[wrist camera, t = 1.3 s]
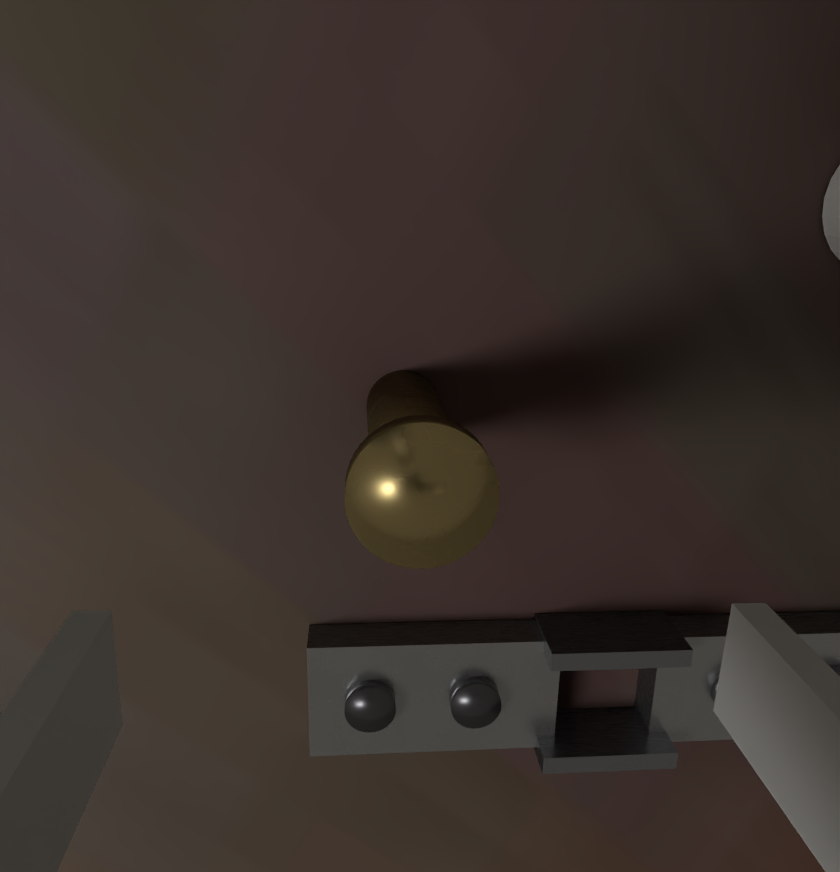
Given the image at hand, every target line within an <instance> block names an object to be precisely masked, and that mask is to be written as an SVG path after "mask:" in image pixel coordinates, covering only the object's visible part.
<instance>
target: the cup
mask: <svg viewBox="0 0 840 872" xmlns="http://www.w3.org/2000/svg"><path fill="white" fill-rule="evenodd" d="M822 220H823V228H824V235H825V237H826V239H827V242H828V244H829V246H830V249H831V251H832V252H833V253H834V254H835V255H836V257H837V258H838V259H839V260H840V165H839V167H838V168H837V170H836V171H835V173H834V175H833V176H832V178H831V180H830V183H829V186H828V188H827V191H826V194H825V197H824V204H823V212H822Z"/></svg>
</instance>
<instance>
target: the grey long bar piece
mask: <svg viewBox="0 0 840 872" xmlns="http://www.w3.org/2000/svg"><path fill="white" fill-rule="evenodd" d="M776 614H777V615H778V616H779V617H780V618H781V619H782V620H783V621H784V622H785V623H786V624H787V625H788V626H789V627H790V628H791V629H792V630H793V631H794V632H795V633H796V634H797V635H798V636H799V637H800V638H801V639H802V640H803V641H804V642H805V643H806V644H807V645H808V646H809V647H810V648H811V649H812V650H813V651H815V652H816V653H817V654H818V655H819V656H820V657H821V658H822V659H823V660H824V661H825V662H826V663H827V664H828V665H829V666H830V667H831V668H832V669H833V670H834V671H835V672H836V673H837V674H838V675H839V676H840V611H828V612H790V613H776ZM729 618H730V614H713V615H675V616H668V615H667V614H666V613H665V611H626V612H587V613H548V614H535V618H534V619H522V620H483V621H445V622H407V623H368V624H330V625H309V633H308V642H307V672H308V705H309V739H310V756H329V755H354V754H379V753H404V752H429V751H454V750H479V749H504V748H529V747H534V750H535V753H536V756H537V759H538V762H539V765H540V768H541V771H542V774H556V773H580V772H603V771H626V770H649V769H672V768H676V766H677V759H678V751H677V750H676V748H675V746H674V745H673V743H672V742H679V741H704V740H729V739H733V738H732V737H731V735H730V734H729V733H728V731H727V730H726V728H725V727H724V725H723V724H722V723H721V721H720V720H719V718H718V717H717V715H716V714H715V712H714V711H713V709H714V703H715V697H716V692H717V686H718V680H719V675H720V669H721V663H722V658H723V652H724V646H725V640H726V635H727V629H728V623H729ZM610 669H639V676H638V684H637V693H636V701H635V707H625V708H597V709H569V710H557V700H558V689H559V677H560V671H579V670H610Z"/></svg>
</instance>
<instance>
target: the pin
mask: <svg viewBox="0 0 840 872" xmlns="http://www.w3.org/2000/svg"><path fill="white" fill-rule="evenodd" d="M367 426H368V436H367V437H366V438H365V439H364V441H363V442H362V443H361V444H360V445H359V447H358V448H357V450H356V451H355V453H354V455H353V457H352V458H351V460H350V463H349V466H348V469H347V474H346V480H345V510H346V514H347V518H348V521H349V524H350V526H351V528H352V530H353V532H354V534H355V535H356V537H357V538H358V539H359V541H360V542H361V543H362V544H363V545H364V546H365V547H366V548H367V549H368V550H369V551H370V552H371V553H373V554H374V555H375V556H377V557H379V558H380V559H382V560H384V561H386V562H389V563H391V564H394V565H397V566H401V567H406V568H415V569H424V568H433V567H438V566H442V565H445V564H448V563H451V562H453V561H455V560H458V559H460V558H461V557H463V556H464V555H466V554H468V553H469V552H470V551H471V550H473V549H474V548H475V547H476V546H477V545H478V544H479V543H480V542H481V541H482V540H483V538H484V537H485V536H486V535H487V533H488V532H489V530H490V528H491V526H492V525H493V522H494V520H495V517H496V514H497V510H498V506H499V498H500V493H499V482H498V477H497V474H496V471H495V468H494V466H493V464H492V462H491V460H490V458H489V456H488V454H487V452H486V450H485V449H484V447H483V446H482V444H481V443H480V442H479V441H478V439H477V438H476V437H475V436H474V435H473V434H472V433H471V432H469V431H468V430H467V429H465V428H464V427H462V426H461V425H459V424H457V423H455V422H453V421H451V420H448V419H446V417H445V414H444V412H443V409H442V407H441V404H440V402H439V399H438V397H437V394H436V392H435V390H434V388H433V386H432V385H431V384H430V383H429V381H428V380H426V379H425V378H424V377H422V376H421V375H419V374H417V373H414V372H410V371H396V372H392V373H389V374H387V375H385V376H383V377H382V378H380V379H379V380H378V381H377V382H376V383H375V384H374V385H373V387H372V388H371V390H370V392H369V395H368V398H367Z"/></svg>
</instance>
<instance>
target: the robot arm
mask: <svg viewBox="0 0 840 872" xmlns="http://www.w3.org/2000/svg"><path fill="white" fill-rule="evenodd" d="M713 711H714V712H715V714H716V715H717V717H718V718H719V720H720V721H721V723H722V724H723V725H724V727H725V728H726V730H727V731H728V733H729V734H730V735H731V737H732V738H733V740H734V741H735V743H736V744H737V745H738V747H739V748H740V750H741V751H742V753H743V754H744V756H745V757H746V758H747V760H748V761H749V763H750V764H751V766H752V767H753V768H754V770H755V771H756V773H757V774H758V776H759V777H760V779H761V780H762V781H763V783H764V784H765V786H766V787H767V789H768V790H769V791H770V793H771V794H772V796H773V797H774V799H775V800H776V801H777V803H778V804H779V806H780V807H781V809H782V810H783V812H784V813H785V814H786V816H787V817H788V819H789V820H790V822H791V823H792V824H793V826H794V827H795V829H796V830H797V832H798V833H799V835H800V836H801V837H802V839H803V840H804V842H805V843H806V845H807V846H808V847H809V849H810V850H811V852H812V853H813V855H814V856H815V857H816V859H817V860H818V862H819V863H820V865H821V866H822V868H823V869H824V870H825V872H840V676H839V675H838V674H837V673H836V672H835V671H834V670H833V669H832V668H831V667H830V666H829V665H828V664H827V663H826V662H825V661H824V660H823V659H822V658H821V657H820V656H819V655H818V654H817V653H816V652H815V651H813V650H812V649H811V648H810V647H809V646H808V645H807V644H806V643H805V642H804V641H803V640H802V639H801V638H800V637H799V636H798V635H797V634H796V633H795V632H794V631H793V630H792V629H791V628H790V627H789V626H788V625H787V624H786V623H785V622H784V621H783V620H782V619H781V618H780V617H779V616H778V615H777V614H776V613H775V612H774V611H773V610H772V609H771V608H770V607H769V606H768V605H767V604H766V603H734V604H732V606H731V612H730V618H729V623H728V629H727V635H726V640H725V646H724V652H723V658H722V663H721V669H720V675H719V680H718V686H717V692H716V697H715V703H714V709H713ZM122 725H123V724H122V714H121V704H120V694H119V684H118V674H117V664H116V654H115V644H114V634H113V624H112V613H111V610H104V611H72V612H71V613H70V615H69V616H68V618H67V619H66V620H65V622H64V623H63V625H62V626H61V628H60V629H59V631H58V632H57V633H56V635H55V636H54V638H53V639H52V641H51V642H50V644H49V645H48V646H47V648H46V649H45V651H44V652H43V654H42V655H41V657H40V658H39V659H38V661H37V662H36V664H35V665H34V667H33V668H32V670H31V671H30V672H29V674H28V675H27V677H26V678H25V680H24V681H23V683H22V684H21V685H20V687H19V688H18V690H17V691H16V693H15V694H14V696H13V697H12V698H11V700H10V701H9V703H8V704H7V706H6V707H5V709H4V710H3V711H2V713H1V714H0V872H57V870H58V868H59V866H60V863H61V861H62V859H63V857H64V854H65V852H66V850H67V848H68V846H69V843H70V841H71V839H72V837H73V834H74V832H75V830H76V828H77V825H78V823H79V821H80V819H81V816H82V814H83V812H84V810H85V807H86V805H87V803H88V801H89V798H90V796H91V794H92V792H93V790H94V787H95V785H96V783H97V781H98V778H99V776H100V774H101V772H102V769H103V767H104V765H105V763H106V760H107V758H108V756H109V754H110V751H111V749H112V747H113V745H114V743H115V740H116V738H117V736H118V734H119V731H120V729H121V727H122Z"/></svg>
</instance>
